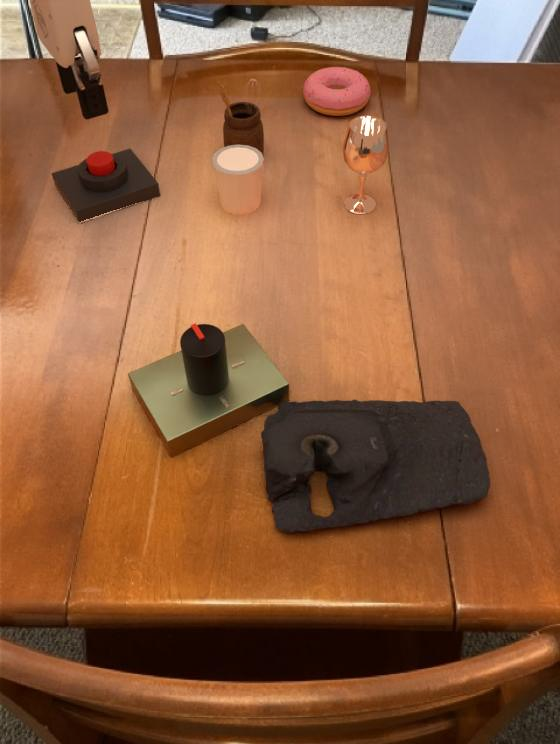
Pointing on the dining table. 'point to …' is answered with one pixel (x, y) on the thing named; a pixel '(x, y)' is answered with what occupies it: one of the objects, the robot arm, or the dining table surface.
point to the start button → (100, 163)
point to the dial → (205, 358)
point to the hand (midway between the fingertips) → (85, 101)
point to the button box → (106, 186)
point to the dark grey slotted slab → (370, 460)
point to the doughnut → (336, 91)
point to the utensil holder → (242, 122)
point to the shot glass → (239, 178)
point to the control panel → (212, 411)
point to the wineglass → (364, 157)
